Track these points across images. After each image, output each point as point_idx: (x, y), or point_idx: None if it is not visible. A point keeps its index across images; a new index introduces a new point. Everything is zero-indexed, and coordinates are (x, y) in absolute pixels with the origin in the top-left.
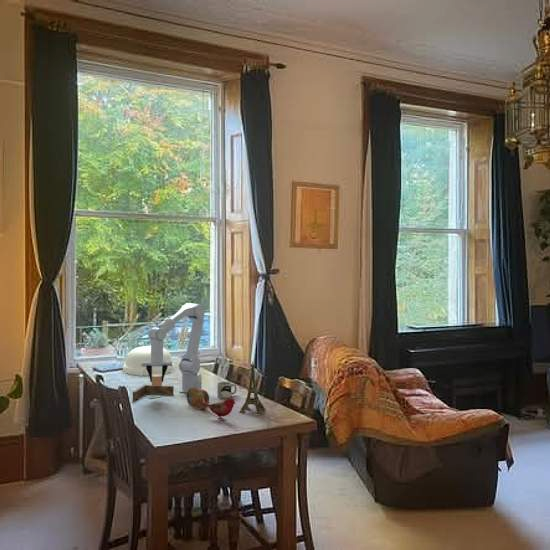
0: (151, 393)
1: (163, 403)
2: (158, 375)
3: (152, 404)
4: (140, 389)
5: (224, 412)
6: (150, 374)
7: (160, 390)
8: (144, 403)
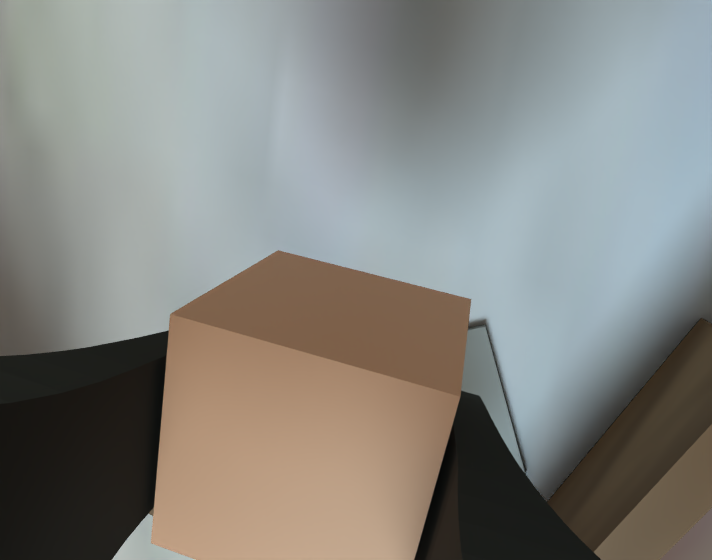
0: None
1: (348, 25)
2: (245, 456)
3: (512, 8)
4: (608, 527)
5: None
6: (494, 488)
7: None
8: (617, 107)
